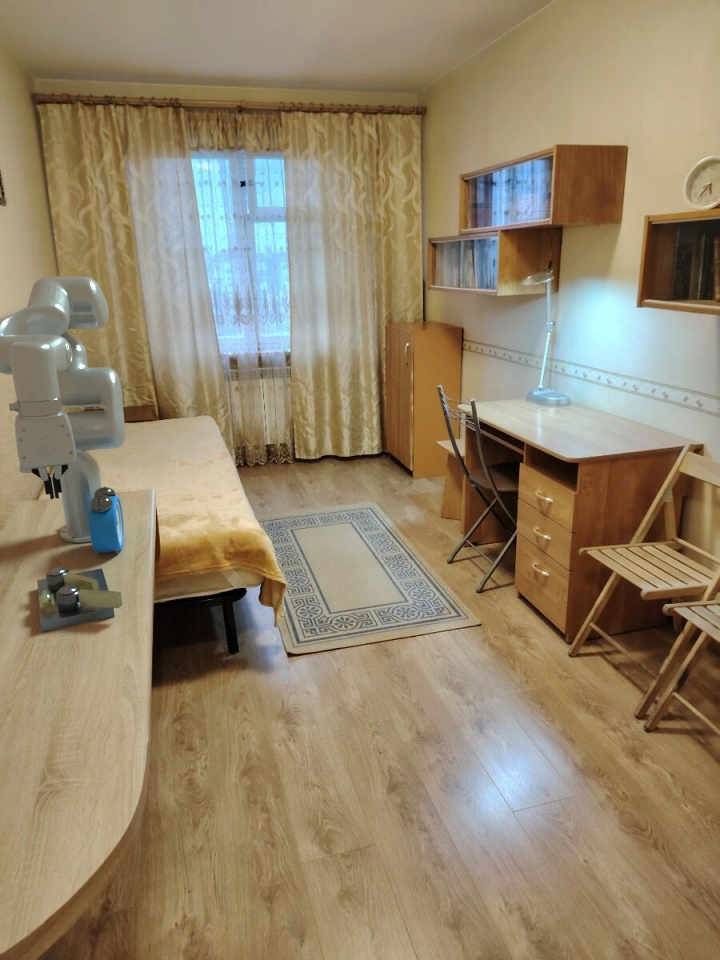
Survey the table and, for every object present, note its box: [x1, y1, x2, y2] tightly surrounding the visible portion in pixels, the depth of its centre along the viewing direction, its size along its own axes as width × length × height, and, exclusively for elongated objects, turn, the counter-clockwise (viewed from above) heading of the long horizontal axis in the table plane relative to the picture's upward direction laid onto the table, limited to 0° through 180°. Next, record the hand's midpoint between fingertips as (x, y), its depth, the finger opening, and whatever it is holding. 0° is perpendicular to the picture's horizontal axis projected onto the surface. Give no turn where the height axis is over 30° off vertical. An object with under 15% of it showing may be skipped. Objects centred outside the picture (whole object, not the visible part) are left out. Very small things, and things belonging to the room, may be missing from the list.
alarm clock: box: [89, 485, 125, 556], centre depth 160 cm, size 13×6×15 cm, turn 13°
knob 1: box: [45, 566, 99, 591], centre depth 136 cm, size 13×4×4 cm, turn 64°
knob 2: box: [56, 585, 123, 611], centre depth 130 cm, size 13×4×4 cm, turn 82°
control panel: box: [36, 568, 115, 633], centre depth 136 cm, size 20×13×4 cm, turn 26°
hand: (54, 496), depth 134 cm, fingers closed
